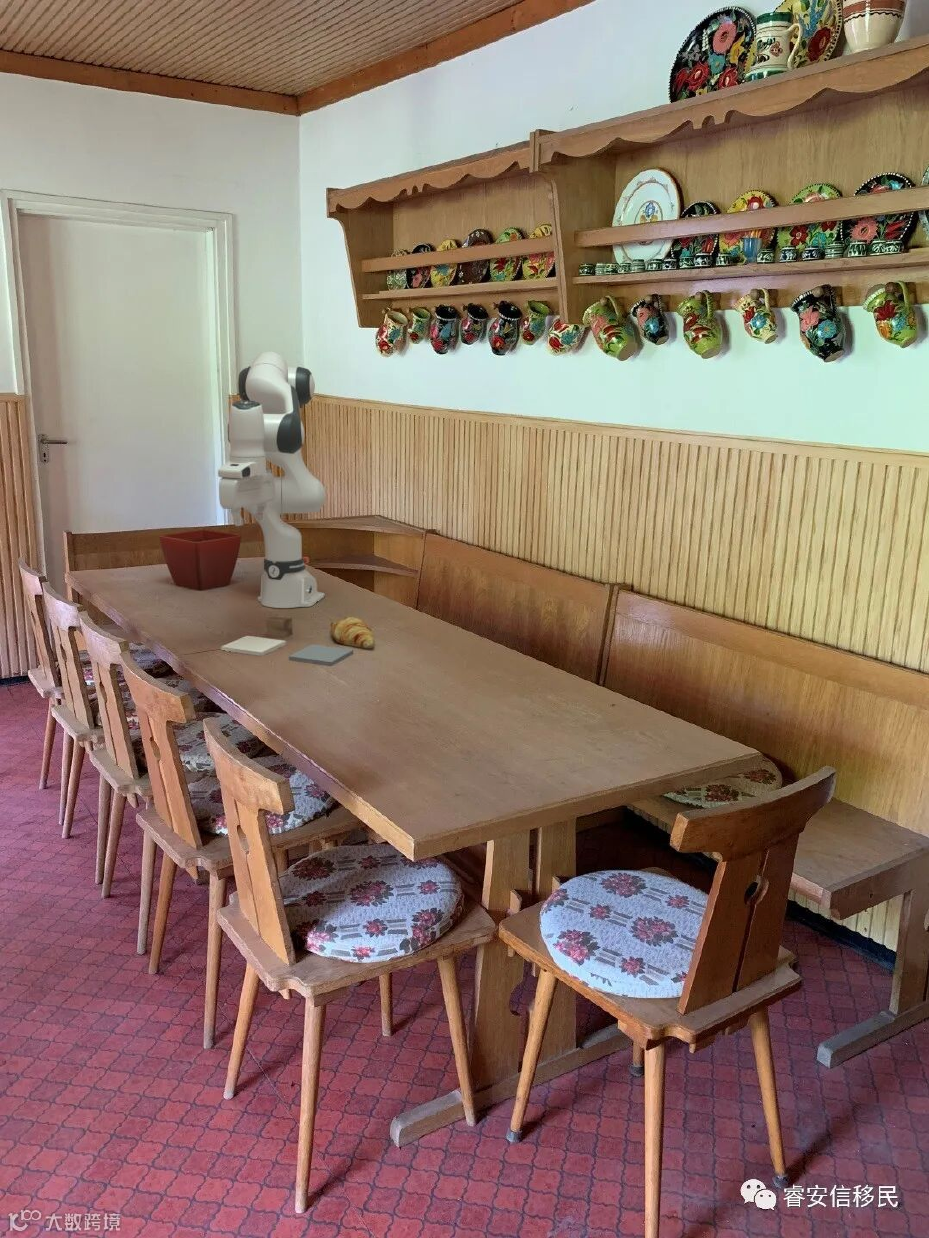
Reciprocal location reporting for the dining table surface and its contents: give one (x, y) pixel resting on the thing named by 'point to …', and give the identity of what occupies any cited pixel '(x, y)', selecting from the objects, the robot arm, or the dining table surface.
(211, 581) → the plant pot
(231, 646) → the pad
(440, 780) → the dining table surface
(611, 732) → the dining table surface
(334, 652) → the pad
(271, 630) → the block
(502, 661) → the dining table surface
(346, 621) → the croissant
